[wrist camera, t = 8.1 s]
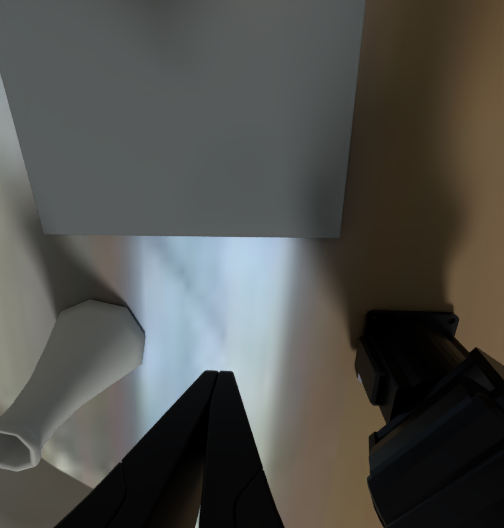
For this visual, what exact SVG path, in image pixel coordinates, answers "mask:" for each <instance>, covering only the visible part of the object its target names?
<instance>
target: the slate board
mask: <svg viewBox="0 0 504 528" xmlns="http://www.w3.org/2000/svg"><path fill="white" fill-rule="evenodd" d="M365 3H366V0H0V73H1V77H2V80H3V84H4V88H5V92H6V95H7V99H8V103H9V107H10V110H11V114H12V118H13V121H14V125H15V129H16V133H17V136H18V140H19V144H20V147H21V151H22V155H23V159H24V162H25V166H26V170H27V173H28V177H29V181H30V185H31V188H32V192H33V196H34V199H35V203H36V207H37V211H38V214H39V218H40V222H41V226H42V229H43V233H44V234H56V235H134V236H211V237H289V238H340V231H341V222H342V213H343V203H344V194H345V185H346V176H347V167H348V158H349V149H350V140H351V131H352V121H353V112H354V103H355V94H356V85H357V76H358V67H359V58H360V49H361V39H362V30H363V21H364V12H365Z"/></svg>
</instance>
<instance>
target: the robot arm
mask: <svg viewBox="0 0 504 528" xmlns="http://www.w3.org/2000/svg"><path fill="white" fill-rule="evenodd" d="M373 316H376V318H374V319H371V317H373ZM450 318H452V319H451V320H450V321H448V320H449V319H450ZM458 322H459V318H458V317H457V316H456V315H455V314H454V313H452V312H424V311H384V310H372V311H369V312H368V313H367V314H366V318H365V324H364V330H363V336H361V337H360V338H359V341H358V347H357V354H356V360H355V365H356V368H357V378H358V380H359V382H361V383H363V386H364V388H365V391H366V393H367V396H368V398H369V401H370V403H371V404H372V405H374V406H379V408H380V410H381V412H382V415H383V417H384V419H385V422H386V425H385V426H384V427H383V428H381V429H380V430H379V431H378V432H374V433H372V434H371V435H370V436H369V465H370V475H369V476H368V477H367V484H368V488H369V491H370V494H371V498H372V501H373V505H374V509H375V511H376V513H377V515H378V518H379V520H380V522H381V523H382V525H383V527H384V528H504V366H503V365H502V364H501V363H499V362H498V361H496V360H495V359H493V358H492V357H490V356H489V355H487V354H486V353H484V352H483V351H482V350H480V349H479V348H477V347H476V348H474V349H473V350H472V351H471V352H470V353H469V352H468V351H467V350H466V349H465V348H464V347H463V345H462V344H461V343H460V342H459V341H458V340H457V339H456V338H455V337H454V336H455V333H456V329H457V326H458ZM200 505H201V507H200ZM199 509H200V518H199V528H285V527H284V525H283V522H282V520H281V518H280V515H279V513H278V510H277V508H276V505H275V502H274V499H273V497H272V494H271V491H270V488H269V485H268V482H267V479H266V476H265V472H264V470H263V466H262V463H261V460H260V457H259V454H258V450H257V447H256V444H255V441H254V438H253V434H252V431H251V428H250V425H249V421H248V418H247V415H246V412H245V409H244V405H243V402H242V399H241V396H240V393H239V389H238V386H237V383H236V380H235V377H234V373H233V372H232V371H220V372H218V371H213V370H206V371H204V372H203V373H202V374H201V375H200V376H199V378H198V379H197V380H196V381H195V382H194V383H193V384H192V385H191V386H190V387H189V388H188V389H187V390H186V391H185V393H184V394H183V395H182V396H181V397H180V398H179V399H178V400H177V401H176V402H175V403H174V404H173V405H172V407H171V408H170V409H169V410H168V411H167V412H166V413H165V414H164V415H163V416H162V417H161V418H160V419H159V420H158V422H157V423H156V424H155V425H154V426H153V427H152V428H151V429H150V430H149V431H148V432H147V433H146V434H145V435H144V437H143V438H142V439H141V440H140V441H139V442H138V443H137V444H136V445H135V446H134V447H133V448H132V449H131V450H130V452H129V453H128V454H127V455H126V456H125V457H124V458H123V459H122V463H121V462H119V463H118V464H117V465H116V466H115V467H114V469H113V470H112V471H111V472H110V473H109V474H108V475H107V476H106V477H105V478H104V479H103V480H102V481H101V482H100V483H99V484H98V485H97V486H96V487H95V488H94V489H93V491H91V493H90V494H89V495H88V496H86V497H85V498H84V500H82V501H81V502H80V503H79V504H78V505H77V506H76V507H75V508H74V509H73V510H72V511H71V512H70V513H69V514H67V516H66V517H64V518H63V519H62V520H61V521H60V522H59V523H58V524H57V525H56V526H55V527H54V528H195V525H196V521H197V517H198V513H199Z"/></svg>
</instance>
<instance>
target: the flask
mask: <svg viewBox="0 0 504 528" xmlns="http://www.w3.org/2000/svg"><path fill="white" fill-rule="evenodd" d="M144 345H145V335H144V333H143V332H142V330H141V329H140V327H139V326H138V324H137V323H136V321H135V320H134V318H133V317H132V315H131V313H130V312H129V310H128V309H127V308H126V307H122V306H118V305H113V304H109V303H105V302H100V301H96V300H92V299H89V300H87V301H84V302H82V303H79V304H77V305H75V306H72V307H70V308H67V309H65V310H62V311H61V312H60V314H59V316H58V318H57V320H56V323H55V325H54V328H53V330H52V332H51V335H50V337H49V340H48V342H47V344H46V347H45V349H44V351H43V353H42V355H41V357H40V359H39V361H38V364H37V366H36V368H35V370H34V372H33V374H32V376H31V378H30V380H29V381H28V383H27V384H26V386H25V387H24V389H23V390H22V391H21V393H20V394H19V396H18V397H17V398H16V400H15V401H14V403H13V404H12V405H11V406H10V407H9V409H8V410H7V411H6V412H5V413H4V414H3V415H2V416H1V417H0V468H3V469H8V470H12V471H21V470H24V469H28V468H31V467H35V466H36V465H37V464H38V463H39V461H40V459H41V449H42V448H43V446H44V445H45V443H46V442H47V441H48V439H49V438H50V437H51V436H52V434H53V433H54V432H55V430H56V429H57V428H58V427H59V426H60V425H61V424H62V423H64V422H65V421H66V420H67V419H68V418H69V417H70V416H71V415H72V414H73V413H74V412H75V411H76V410H77V409H78V408H79V407H81V406H82V405H83V404H85V403H86V402H88V401H89V400H90V399H92V398H93V397H95V396H96V395H97V394H99V393H100V392H102V391H103V390H104V389H106V388H107V387H109V386H110V385H111V384H113V383H114V382H116V381H118V380H119V379H121V378H122V377H124V376H125V375H127V374H128V373H130V372H131V371H133V370H134V369H136V368H137V367H139V366H140V365H141V364H142V362H143V353H144Z"/></svg>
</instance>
